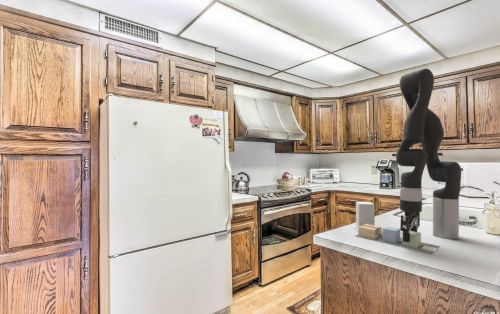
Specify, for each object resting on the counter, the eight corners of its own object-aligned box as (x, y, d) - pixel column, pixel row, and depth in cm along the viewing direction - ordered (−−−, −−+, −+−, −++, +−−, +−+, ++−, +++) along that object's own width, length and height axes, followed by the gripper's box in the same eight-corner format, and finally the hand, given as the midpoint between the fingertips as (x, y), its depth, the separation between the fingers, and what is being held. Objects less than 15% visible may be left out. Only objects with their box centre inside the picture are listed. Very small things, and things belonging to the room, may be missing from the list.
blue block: (387, 237, 114) (387, 226, 114) (400, 240, 111) (400, 228, 111) (382, 240, 111) (382, 228, 111) (395, 243, 107) (395, 231, 107)
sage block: (406, 242, 109) (406, 230, 109) (420, 245, 105) (420, 232, 105) (402, 244, 106) (402, 232, 106) (416, 248, 102) (416, 235, 102)
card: (424, 246, 104) (424, 245, 104) (436, 249, 101) (436, 248, 101) (421, 248, 101) (421, 247, 101) (433, 251, 98) (433, 250, 98)
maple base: (365, 232, 123) (365, 223, 123) (381, 235, 117) (381, 226, 117) (358, 235, 118) (358, 226, 118) (374, 239, 113) (374, 229, 113)
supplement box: (374, 230, 127) (375, 204, 126) (358, 230, 128) (358, 203, 128) (371, 226, 134) (371, 201, 134) (355, 226, 135) (355, 201, 135)
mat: (366, 231, 126) (366, 230, 126) (440, 247, 104) (440, 246, 104) (354, 236, 117) (354, 235, 117) (431, 255, 96) (431, 254, 96)
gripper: (415, 202, 98) (414, 246, 98) (427, 198, 107) (426, 238, 107) (393, 199, 103) (393, 241, 104) (406, 196, 113) (406, 234, 113)
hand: (410, 239), depth 105 cm, fingers open, 8 cm apart
